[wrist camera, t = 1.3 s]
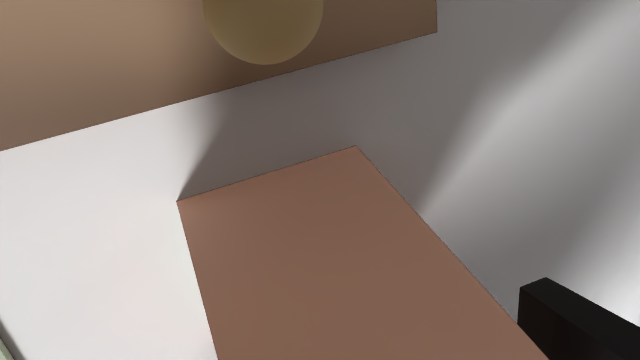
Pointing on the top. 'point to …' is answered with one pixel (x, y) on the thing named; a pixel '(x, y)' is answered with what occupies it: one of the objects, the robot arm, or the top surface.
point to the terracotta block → (336, 272)
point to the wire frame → (171, 52)
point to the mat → (4, 352)
